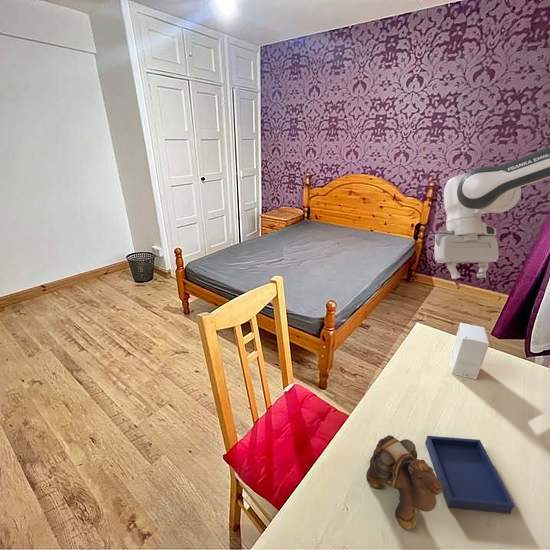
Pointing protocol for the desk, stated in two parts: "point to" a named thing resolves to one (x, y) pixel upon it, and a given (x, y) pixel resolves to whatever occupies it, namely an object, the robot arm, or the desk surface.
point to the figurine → (404, 478)
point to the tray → (467, 475)
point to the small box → (468, 350)
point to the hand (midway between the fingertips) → (469, 278)
